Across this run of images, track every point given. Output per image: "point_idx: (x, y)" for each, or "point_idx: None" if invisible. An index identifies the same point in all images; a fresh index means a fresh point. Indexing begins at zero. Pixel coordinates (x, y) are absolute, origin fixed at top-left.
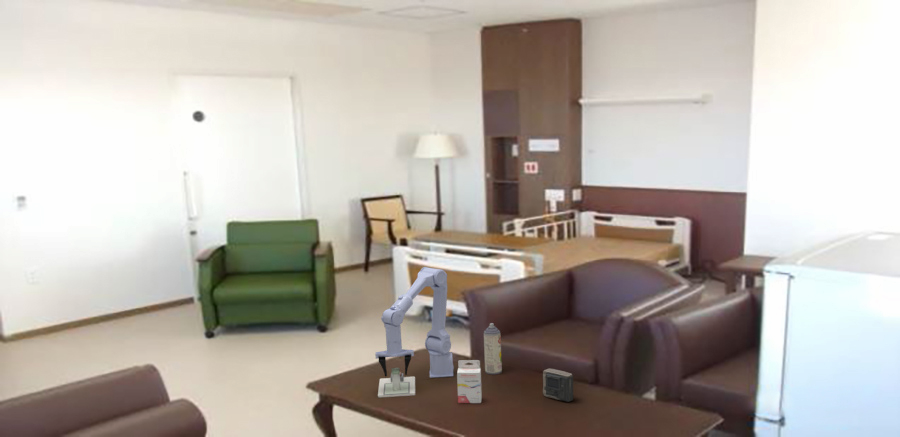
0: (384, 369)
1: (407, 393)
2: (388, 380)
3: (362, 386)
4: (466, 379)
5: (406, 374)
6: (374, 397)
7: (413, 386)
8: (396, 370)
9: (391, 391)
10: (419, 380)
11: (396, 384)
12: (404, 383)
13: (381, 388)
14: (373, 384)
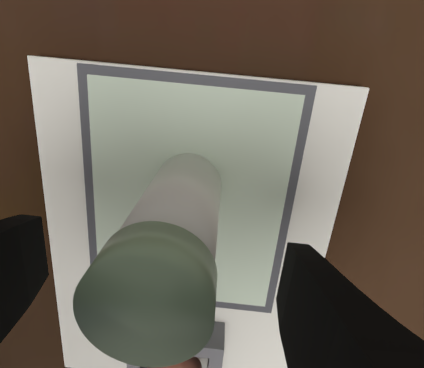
0: (355, 306)
1: (96, 65)
2: (237, 354)
3: (419, 329)
4: None
5: (17, 216)
6: (389, 99)
7: (57, 208)
8: (125, 255)
9: (235, 147)
10: (39, 320)
11: (180, 172)
12: None
13: (307, 236)
14: None
